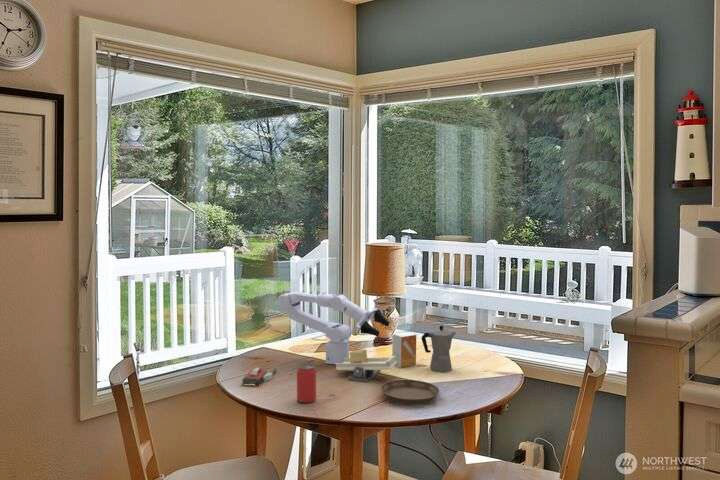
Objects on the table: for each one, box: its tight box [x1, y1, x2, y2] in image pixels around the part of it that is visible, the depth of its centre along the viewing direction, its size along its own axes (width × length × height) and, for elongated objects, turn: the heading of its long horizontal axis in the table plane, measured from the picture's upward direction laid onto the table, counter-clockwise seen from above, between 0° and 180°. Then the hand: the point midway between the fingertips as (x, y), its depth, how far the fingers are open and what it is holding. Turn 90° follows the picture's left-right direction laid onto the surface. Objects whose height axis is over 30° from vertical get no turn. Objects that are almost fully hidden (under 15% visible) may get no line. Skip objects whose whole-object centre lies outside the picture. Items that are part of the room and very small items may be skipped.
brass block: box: [349, 349, 368, 363], centre depth 237 cm, size 5×5×5 cm
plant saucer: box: [380, 379, 440, 406], centre depth 212 cm, size 21×21×3 cm
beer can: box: [296, 363, 317, 403], centre depth 207 cm, size 7×7×12 cm
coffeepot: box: [421, 325, 457, 373], centre depth 244 cm, size 15×9×18 cm, turn 110°
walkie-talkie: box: [242, 367, 278, 386], centre depth 232 cm, size 9×4×20 cm
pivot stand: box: [347, 367, 381, 383], centre depth 236 cm, size 8×15×4 cm, turn 158°
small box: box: [391, 331, 417, 369], centre depth 251 cm, size 8×6×13 cm
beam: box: [335, 355, 397, 371], centre depth 236 cm, size 22×9×3 cm, turn 68°
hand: (383, 329), depth 244 cm, fingers open, 7 cm apart
